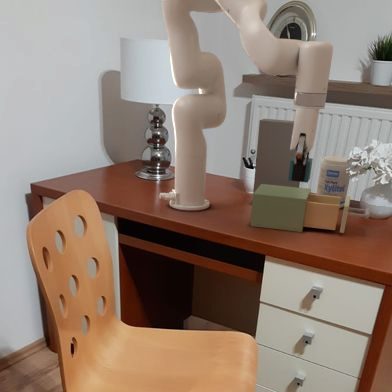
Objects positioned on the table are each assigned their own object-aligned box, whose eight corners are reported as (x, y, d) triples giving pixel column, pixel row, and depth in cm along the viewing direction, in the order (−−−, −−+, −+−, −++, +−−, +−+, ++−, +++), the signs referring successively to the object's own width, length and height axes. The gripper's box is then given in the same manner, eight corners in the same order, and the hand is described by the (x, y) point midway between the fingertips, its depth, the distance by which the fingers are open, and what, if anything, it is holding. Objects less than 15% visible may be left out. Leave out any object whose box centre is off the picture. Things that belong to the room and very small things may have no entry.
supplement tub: (321, 209, 166) (329, 161, 158) (310, 201, 174) (316, 155, 166) (349, 209, 168) (358, 161, 160) (337, 201, 176) (345, 155, 168)
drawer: (366, 224, 151) (371, 198, 147) (365, 235, 141) (371, 209, 138) (299, 216, 155) (302, 191, 151) (294, 227, 146) (298, 201, 142)
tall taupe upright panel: (297, 205, 170) (308, 122, 157) (293, 209, 165) (304, 124, 152) (257, 199, 174) (264, 118, 161) (251, 203, 169) (258, 120, 156)
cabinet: (306, 219, 156) (311, 188, 151) (301, 232, 145) (306, 199, 141) (258, 214, 159) (261, 183, 154) (250, 226, 148) (253, 193, 144)
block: (307, 182, 132) (310, 162, 129) (288, 180, 133) (290, 160, 130) (309, 178, 136) (312, 158, 133) (290, 176, 137) (293, 156, 135)
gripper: (298, 97, 133) (289, 170, 142) (288, 102, 119) (279, 184, 128) (328, 99, 131) (317, 173, 141) (321, 105, 117) (310, 187, 126)
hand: (299, 177), depth 134 cm, fingers closed on block, 5 cm apart
